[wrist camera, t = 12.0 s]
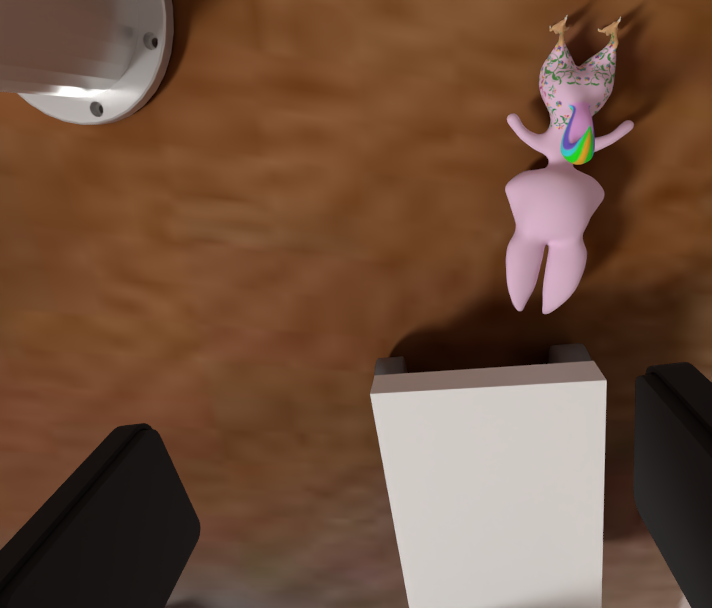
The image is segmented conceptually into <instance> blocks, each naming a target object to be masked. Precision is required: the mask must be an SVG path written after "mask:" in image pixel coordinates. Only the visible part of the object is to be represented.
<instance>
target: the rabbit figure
mask: <svg viewBox="0 0 712 608" xmlns="http://www.w3.org/2000/svg"><path fill="white" fill-rule="evenodd" d="M566 20H567V16H566V17H565V19H563V20H561V21H560V22H559V23H557V24H555V25H553V26H552V29H551V26H550V31H552V30H553V31H554V33H555V34H557V33H559V41H558V43H557V45H556V46H555V48H554V49H553V50H552V52H551V53H550V55H549V56H548V58H547V59H546V61H545V62H544V64H543V66H542V68H541V72H540V78H539V88H540V93H541V96H542V98H543V101H544V103H545V105H546V107H547V109H548V111H549V114H550V118H551V122H550V126H549V128H548V130H547V131H546V132H545V133H543V134H536V133H533V132H531V131H529V130H528V129H526V128H525V127H524V126H523V124H522V123H521V120H520V118H519V117H518V116H517V115H516V114H513V113H512V114H510V115H509V116H508V117H507V122H508V124H509V125H510V126H511V128H512V129H513V130H514V132H515V133H516V134H517V135H518V136H519V137H520V138H521V139H522V140H523V141H524V142H525V143H527V144H528V145H529V146H530V147H532V148H533V149H535V150H537V151H539V152H541V153H543V154H544V155H545V156H547V158H548V160H549V163H548V166H547V167H546V168H543V169H538V170H529V171H524V172H522V173H520V174H518V175H517V176H515V177H514V178H513V179H511V180H510V181H509V182H508V184H507V185H506V188H505V191H506V195H507V197H508V200H509V203H510V206H511V209H512V212H513V215H514V218H515V222H516V230H515V233H514V235H513V237H512V239H511V240H510V242H509V244H508V247H507V254H506V273H507V285H508V290H509V294H510V297H511V300H512V302H513V304H514V306H515V308H516V309H517V310H518V311H522V310H523V309H524V307H525V305H526V303H527V301H528V299H529V297H530V296H531V294H532V292H533V290H534V288H535V285H536V282H537V279H538V274H539V270H540V266H541V262H542V258H543V253H544V247H545V246H546V245H548V247H549V251H548V257H547V263H546V269H545V276H544V283H543V307H542V312H543V314H549V313H551V312H552V311H554V310H555V309H557V308H558V307H559V306H561V305H562V304H563V303H564V302H565V301H566V300H567V299H568V298H569V297H570V296H571V295H572V294H573V292H574V291H575V290H576V288H577V286H578V284H579V282H580V279H581V277H582V274H583V272H584V269H585V265H586V260H587V251H586V247H585V245H584V242H583V233H584V231H585V229H586V227H587V225H588V223H589V220H590V218H591V216H592V215H593V213H594V212H595V211H596V209H597V208H598V206H599V205H600V204H601V202H602V201H603V199H604V190H603V188H602V187H601V185H600V184H599V183H598V182H597V181H596V180H595V179H594V178H593V177H591V176H589V175H587V174H585V173H582V172H580V171H578V170H576V169H575V168H574V167H573V164H576V165H580V164H584V163H586V162H588V161H590V160H591V159H592V157H593V154H594V152H596V151H598V150H600V149H603V148H605V147H607V146H609V145H611V144H612V143H614V142H616V141H617V140H618V139H620V138H621V137H623V136H624V135H625V134H627V133H628V132H629V131H631V130H632V128H633V126H634V123H633V122H632V121H630V120H627V121H624V122H623V123H622V124H620V125H619V126H618V127H617V128H616V129H615V130H614V131H613V132H611V133H609V134H607V135H604V136H601V137H596V138H595V135H594V127H593V121H592V116H593V115H594V114H595V113H597V112H598V111H599V110H600V109H601V108H602V106H603V105H604V104H605V102H606V101H607V99H608V98H609V96H610V94H611V92H612V89H613V85H614V77H615V67H616V48H617V46H618V39H617V31H618V24H619V22H620V21H621V17H620V19H618V21H615V22H613V23H612V24H610V25H609V26H607V27H605V28H604V29H603V30H600V29H599V28H598V31H599V32H603V33H606V36H608V35H610V34H611V40H610V42H609V43H608V44H607V46H606V47H605V48H603V49H602V50H601V51H600V52H598V53H597V54H595V55H594V56H592V57H591V58H589V59H588V60H587V61H585V62H584V63H583V64H582V65H581V66H576V65H575V63H574V61H573V59H572V57H571V55H570V53H569V51H568V49H567V47H566V44H565V42H564V31H567V30H568V29H569V27H568V28H567V29H566V26H565V23H566Z"/></svg>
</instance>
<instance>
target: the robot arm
mask: <svg viewBox="0 0 712 608" xmlns="http://www.w3.org/2000/svg"><path fill="white" fill-rule="evenodd" d="M173 34H174V23H173V5H172V0H0V92H12V93H17V94H19V95H20V96H21V97H22V98H23V99H24V100H26V101H27V102H28V103H29V104H31V105H32V106H34V107H35V108H37V109H39V110H40V111H42V112H43V113H45V114H47V115H49V116H52V117H54V118H57V119H59V120H62V121H65V122H70V123H75V124H81V125H100V124H107V123H113V122H117V121H119V120H122V119H124V118H126V117H129V116H131V115H132V114H134V113H135V112H136V111H138V110H139V109H140V108H142V107H143V106H144V105H145V104H146V103H147V102H148V100H149V99H150V98H151V97H152V96H153V95H154V93H155V92H156V90H157V89H158V87H159V85H160V83H161V81H162V79H163V77H164V75H165V73H166V69H167V66H168V63H169V59H170V56H171V51H172V42H173ZM157 40H158V45H156V41H157ZM634 499H635V503H636V507H637V509H638V512H639V514H640V516H641V518H642V520H643V522H644V523H645V525H646V527H647V529H648V531H649V532H650V534H651V536H652V538H653V539H654V541H655V543H656V545H657V547H658V548H659V550H660V552H661V554H662V556H663V557H664V559H665V561H666V563H667V565H668V566H669V568H670V570H671V572H672V574H673V575H674V577H675V579H676V581H677V583H678V584H679V586H680V588H681V590H682V592H683V593H684V595H685V597H686V599H687V601H688V602H689V604H690V606H691V608H712V382H710V381H709V380H708V379H707V378H706V377H705V376H704V375H703V374H702V373H701V372H700V371H698V370H697V369H696V368H695V367H694V366H693V365H691V364H690V363H687V362H681V363H673V364H664V365H655V366H650V367H648V368H647V370H646V374H645V375H642V376H638V377H637V379H636V384H635V442H634ZM199 535H200V522H199V519H198V517H197V515H196V513H195V511H194V508H193V506H192V504H191V502H190V500H189V498H188V495H187V493H186V491H185V489H184V487H183V485H182V482H181V480H180V478H179V476H178V474H177V471H176V469H175V467H174V465H173V463H172V461H171V458H170V456H169V454H168V452H167V450H166V448H165V445H164V443H163V441H162V439H161V437H160V435H159V433H158V432H157V431H156V430H153V429H152V428H151V426H149V425H148V424H144V423H142V424H133V425H125V426H119V427H117V428H115V429H114V430H113V431H112V432H111V433H110V434H109V435H108V436H107V437H106V438H105V439H104V441H103V442H102V443H101V444H100V445H99V446H98V447H97V448H96V449H95V450H94V451H93V452H92V453H91V454H90V455H89V457H88V458H87V459H86V460H85V461H84V462H83V463H82V464H81V465H80V466H79V467H78V468H77V469H76V470H75V471H74V473H73V474H72V475H71V476H70V477H69V478H68V479H67V480H66V481H65V482H64V483H63V484H62V485H61V486H60V487H59V488H58V490H57V491H56V492H55V493H54V494H53V495H52V496H51V497H50V498H49V499H48V500H47V501H46V502H45V503H44V504H43V506H42V507H41V508H40V509H39V510H38V511H37V512H36V513H35V514H34V515H33V516H32V517H31V518H30V519H29V520H28V522H27V523H26V524H25V525H24V526H23V527H22V528H21V529H20V530H19V531H18V532H17V533H16V534H15V535H14V536H13V538H12V539H11V540H10V541H9V542H8V543H7V544H6V545H5V546H4V547H3V548H2V549H1V550H0V608H164V607H165V605H166V603H167V601H168V599H169V597H170V595H171V593H172V591H173V589H174V587H175V585H176V583H177V581H178V579H179V577H180V575H181V573H182V571H183V569H184V567H185V565H186V563H187V561H188V559H189V557H190V555H191V553H192V551H193V549H194V547H195V545H196V543H197V541H198V539H199Z"/></svg>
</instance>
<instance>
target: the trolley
mask: <svg viewBox="0 0 712 608" xmlns="http://www.w3.org/2000/svg"><path fill="white" fill-rule="evenodd" d="M606 386H607V380H606V379H605V377H604V376H603V374H602V373H601V371H600V370H599V368H598V367H597V365H596V363H595V362H594V361H591V358H590V355H589V353H588V351H587V349H586V347H585V346H584V345H583V344H581V343H576V344H563V345H552V346H551V347H550V349H549V355H548V364H539V365H524V366H509V367H494V368H479V369H464V370H449V371H434V372H419V373H407V367H406V363H405V360H404V357H403V356H402V357H388V358H378V359H377V361H376V366H375V376H374V380H373V384H372V388H371V393H370V396H371V401H372V407H373V412H374V418H375V423H376V429H377V434H378V439H379V445H380V450H381V456H382V461H383V467H384V472H385V478H386V483H387V489H388V494H389V499H390V505H391V510H392V516H393V521H394V527H395V532H396V538H397V543H398V548H399V554H400V559H401V565H402V570H403V576H404V581H405V587H406V592H407V598H408V603H409V608H601V596H602V554H603V512H604V470H605V428H606Z"/></svg>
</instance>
